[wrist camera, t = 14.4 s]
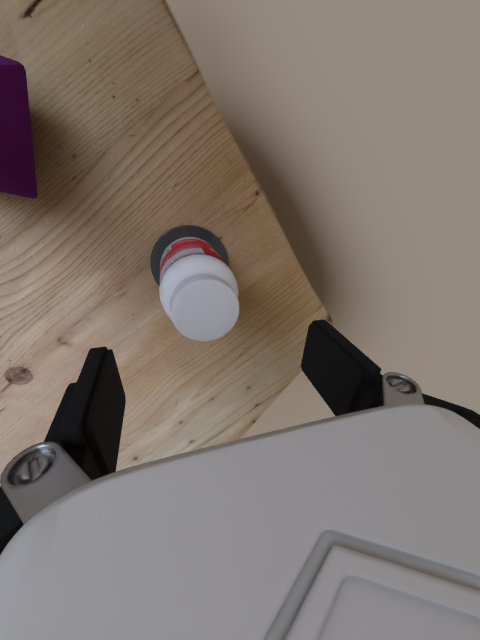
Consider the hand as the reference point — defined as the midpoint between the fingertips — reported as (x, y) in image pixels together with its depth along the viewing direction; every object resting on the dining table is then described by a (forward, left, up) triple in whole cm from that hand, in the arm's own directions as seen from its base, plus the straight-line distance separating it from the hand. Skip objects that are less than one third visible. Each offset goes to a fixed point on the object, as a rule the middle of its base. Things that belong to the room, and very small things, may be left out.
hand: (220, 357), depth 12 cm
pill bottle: (0, 0, -17) cm, 17 cm away
